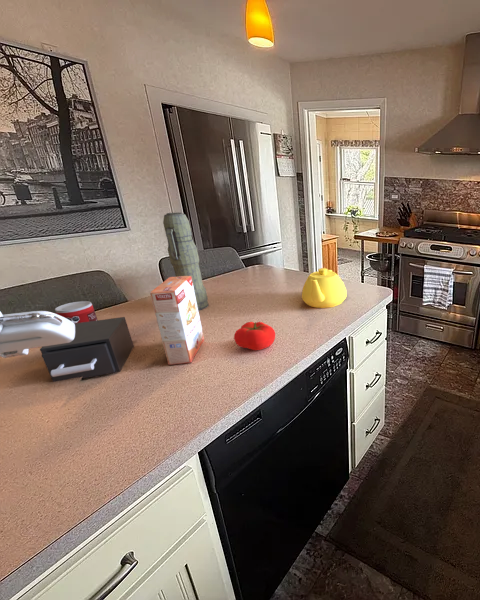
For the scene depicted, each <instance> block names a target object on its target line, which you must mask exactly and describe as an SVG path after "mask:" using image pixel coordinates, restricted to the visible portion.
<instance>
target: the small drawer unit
mask: <svg viewBox="0 0 480 600" xmlns="http://www.w3.org/2000/svg"><path fill="white" fill-rule="evenodd" d="M102 342H106V344H107V346H108V349H109V352H110V355H111V358H112V361H113V364H114V366H115V369H116V370H115V372H113V373H112V374H115V373H119V372H121V371H122V369H123V368H124V366H125V363H126V362H127V359H128V358H129V357H130V355H131V353H132V351H133V349H134V347H135V345H134V342H133V338H132V336H131V332H130V329H129V327H128V323H127V320H126V317H125V316H121V317H113V318H107V319H106V318H105V319H97V321H90V322H82V323H75V337H74V339H73V340H72V341H71V342H69V343H64V344H57V345H50V346H44V347H39V351H40V353H41V355H42V354H43V353H46V352H51V350H57V349H64V348H70V347H77V346H83V345H89V344H96V343H102ZM110 374H111V373H108V374H107V375H110ZM104 375H106V374H102V375H97V376H96V377H98V376H104ZM94 377H95V376H92V377H91V378H94ZM80 378H81V380H83V379H88V378H90V377H86V378H82V377H80Z"/></svg>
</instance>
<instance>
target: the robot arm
mask: <svg viewBox="0 0 480 600" xmlns="http://www.w3.org/2000/svg"><path fill="white" fill-rule="evenodd" d="M74 337H75V324H74V323H73V322H72V321H70V320H68V319H66V318H64V317H62V316H60V315H58V314H56V312H51V311H47V310H32V311H23V312H15V313H7V314H6V313H5V314H3V312H1V310H0V357H1V358H3V359H7V358H13V357H14V358H15V357H20V356H26V355H27V356H28V355H29V350H30V349H35V348H42V347H44V346H50V345H57V344H64V343H69V342H71V341H72V340H73V339H74Z"/></svg>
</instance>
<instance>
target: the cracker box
mask: <svg viewBox="0 0 480 600" xmlns="http://www.w3.org/2000/svg"><path fill="white" fill-rule="evenodd" d="M149 295H150V299H151V303H152V306H153V311H154V315H155V318H156V322H157V326H158V329H159V333H160V334H159V335H160V337H161V338H160V339H161V342H162V345H163V349H164V353H165V358H166V362H167V364H168V366H174V365H183V364H190V363H193V360H194V359H195V357H196V355H197V353H198V351H199V350H200V348H201V346H202V345H203V343H204V341H205V337H204V333H203V326H202V322H201V317H200V313H199V310H198V307H197V302H196V297H195V292H194V287H193V283H192V277H191V276H179V277H176V276H169V277H167V278H166V279H165V280H164V281H162V282H161V283H160V284H158V286H156V287H155V288H154V289H152V290H151V291H149Z"/></svg>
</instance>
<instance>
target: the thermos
mask: <svg viewBox="0 0 480 600" xmlns="http://www.w3.org/2000/svg"><path fill="white" fill-rule="evenodd" d="M162 222H163V228H164V232H165V236H166V240H167V244H168V245H167V253H168V257H169V261H170V264H171V266H172V267H173V271H174V275H175V277H179V276H191V277H192V283H193V287H194V292H195V297H196V302H197V307H198V311H202V310H204V309H206V308H208V307H209V301H208V300H209V299H208V293H207V289H206V287H205V285H204V282H203V278H202V273H201V268H200V264H199V263H200V257H199V252H198V248H197V245H196V243H195V242H194V239H193V233H192V228H191V225H190V224H191V223H190V220H189V218H188V217H187V215H186V214H185V213H183V212H167V213H166V214H164V215H163V219H162Z"/></svg>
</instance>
